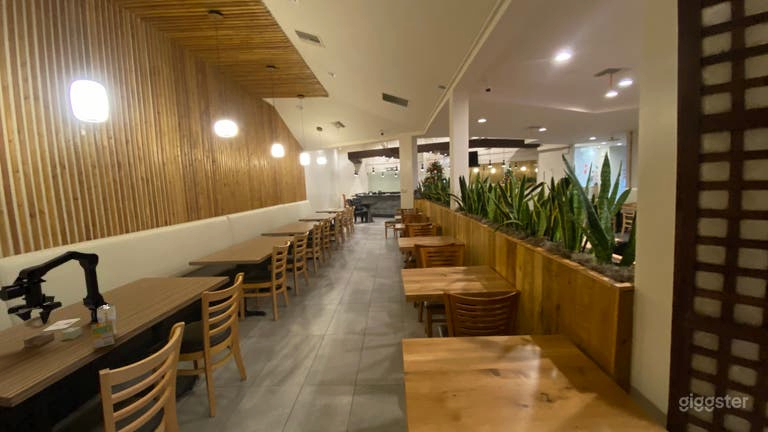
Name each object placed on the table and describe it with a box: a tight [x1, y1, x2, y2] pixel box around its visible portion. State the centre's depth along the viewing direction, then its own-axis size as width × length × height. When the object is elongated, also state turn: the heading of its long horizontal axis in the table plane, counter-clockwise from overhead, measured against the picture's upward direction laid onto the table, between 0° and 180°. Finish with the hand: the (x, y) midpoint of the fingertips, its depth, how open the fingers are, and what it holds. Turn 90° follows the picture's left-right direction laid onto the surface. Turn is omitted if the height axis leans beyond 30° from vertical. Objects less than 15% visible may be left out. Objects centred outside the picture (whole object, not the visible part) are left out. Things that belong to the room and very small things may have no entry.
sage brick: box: [61, 326, 83, 341], centre depth 155 cm, size 5×5×4 cm
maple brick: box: [23, 315, 51, 331], centre depth 149 cm, size 6×6×4 cm
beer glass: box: [97, 304, 118, 336], centre depth 156 cm, size 7×7×15 cm
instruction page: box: [41, 317, 82, 333], centre depth 171 cm, size 10×14×1 cm
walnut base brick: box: [23, 331, 56, 348], centre depth 150 cm, size 7×7×4 cm
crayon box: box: [91, 321, 116, 350], centre depth 145 cm, size 7×3×12 cm, turn 129°
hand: (37, 324), depth 149 cm, fingers closed on maple brick, 6 cm apart
